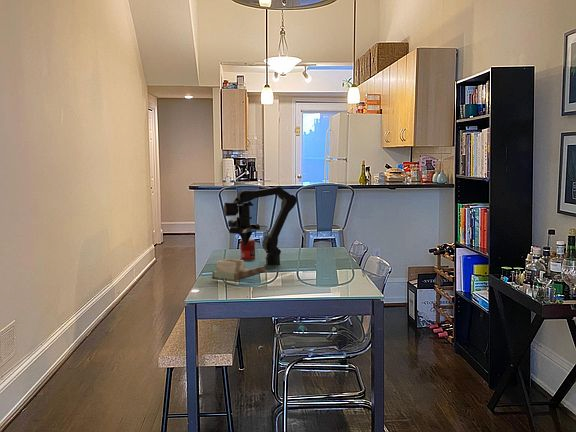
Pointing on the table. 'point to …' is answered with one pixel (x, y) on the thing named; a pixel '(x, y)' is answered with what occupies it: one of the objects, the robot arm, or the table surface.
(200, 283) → the table surface
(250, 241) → the canned food
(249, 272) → the channel
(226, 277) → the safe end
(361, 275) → the table surface
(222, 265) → the birch block
